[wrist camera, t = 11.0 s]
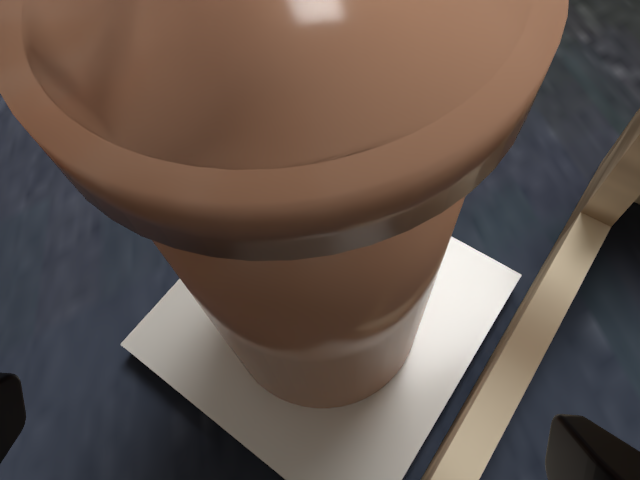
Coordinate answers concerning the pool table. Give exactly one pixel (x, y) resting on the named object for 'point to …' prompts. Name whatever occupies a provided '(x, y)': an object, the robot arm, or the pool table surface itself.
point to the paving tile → (340, 422)
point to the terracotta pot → (285, 153)
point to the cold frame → (539, 315)
